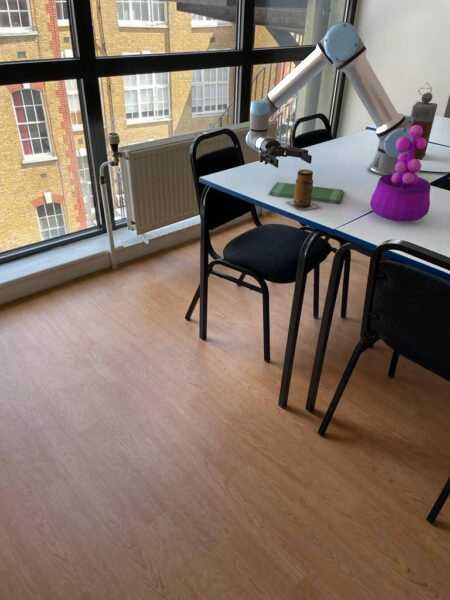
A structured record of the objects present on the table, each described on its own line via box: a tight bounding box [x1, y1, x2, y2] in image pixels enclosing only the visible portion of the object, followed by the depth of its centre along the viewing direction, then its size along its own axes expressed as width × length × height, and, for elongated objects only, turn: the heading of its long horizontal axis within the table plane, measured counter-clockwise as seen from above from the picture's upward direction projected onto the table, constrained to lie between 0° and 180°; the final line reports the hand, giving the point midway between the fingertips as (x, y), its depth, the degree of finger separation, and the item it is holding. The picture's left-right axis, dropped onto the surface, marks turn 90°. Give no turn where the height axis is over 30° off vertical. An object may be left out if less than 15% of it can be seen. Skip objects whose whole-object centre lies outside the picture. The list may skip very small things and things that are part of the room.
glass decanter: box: [410, 91, 438, 161], centre depth 212 cm, size 9×11×28 cm
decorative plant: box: [369, 125, 431, 223], centre depth 148 cm, size 19×18×30 cm
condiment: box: [288, 168, 318, 211], centre depth 161 cm, size 7×8×12 cm
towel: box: [269, 181, 344, 205], centre depth 174 cm, size 26×12×1 cm, turn 71°
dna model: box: [414, 81, 433, 104], centre depth 224 cm, size 7×6×30 cm
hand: (294, 161), depth 166 cm, fingers open, 13 cm apart
